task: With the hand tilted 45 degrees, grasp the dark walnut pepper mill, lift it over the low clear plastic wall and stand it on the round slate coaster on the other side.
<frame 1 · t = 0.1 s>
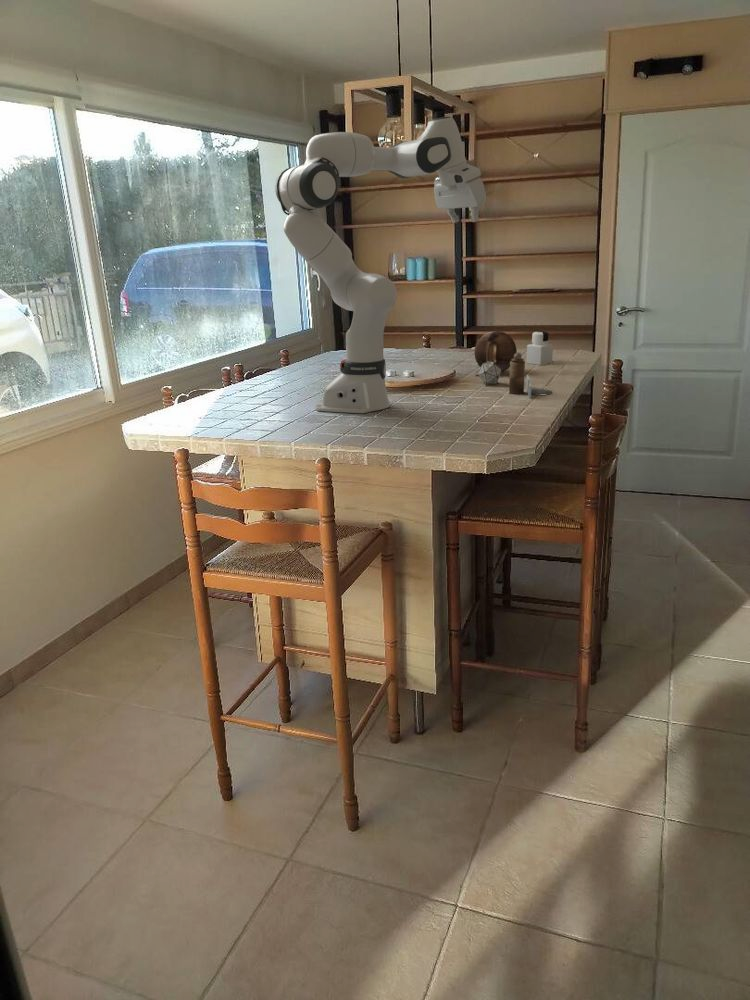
hand: (465, 221, 231), 52 cm above the counter, tool tilted 20°, fingers open, 8 cm apart
game die: (489, 385, 257), on the counter
wooden sphere: (494, 373, 277), on the counter
pepper mill: (516, 392, 243), on the counter
slate coaster: (540, 392, 242), on the counter
clear wall: (528, 392, 242), on the counter
medicine bottle: (539, 363, 293), on the counter
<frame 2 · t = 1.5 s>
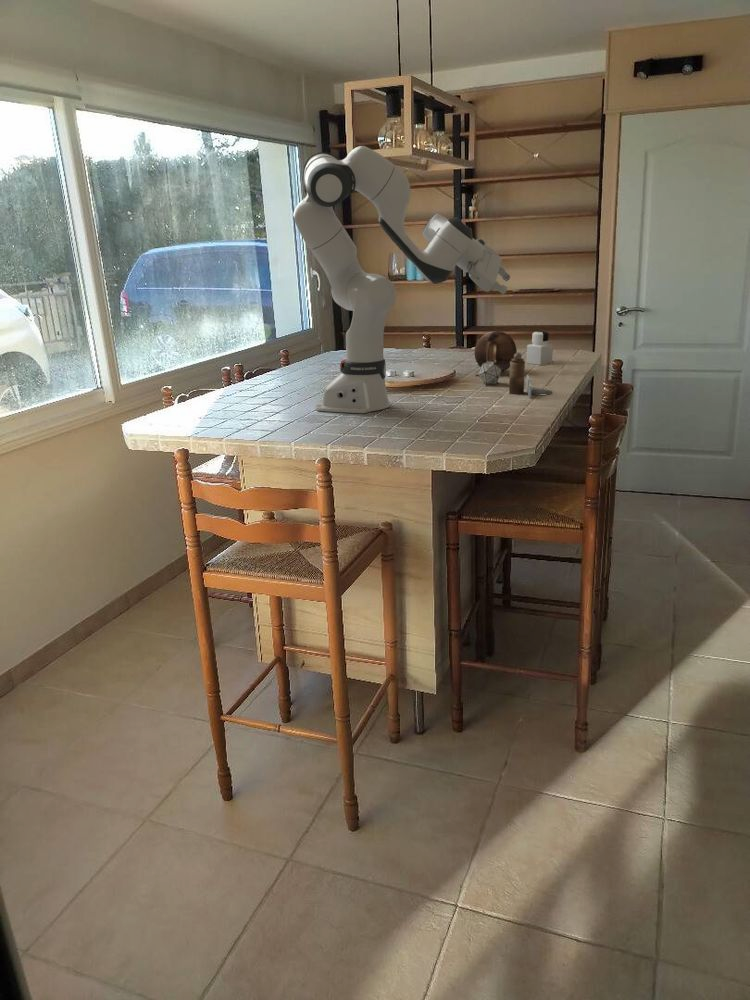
hand: (507, 285, 227), 34 cm above the counter, tool tilted 50°, fingers open, 8 cm apart
nothing on the counter moved.
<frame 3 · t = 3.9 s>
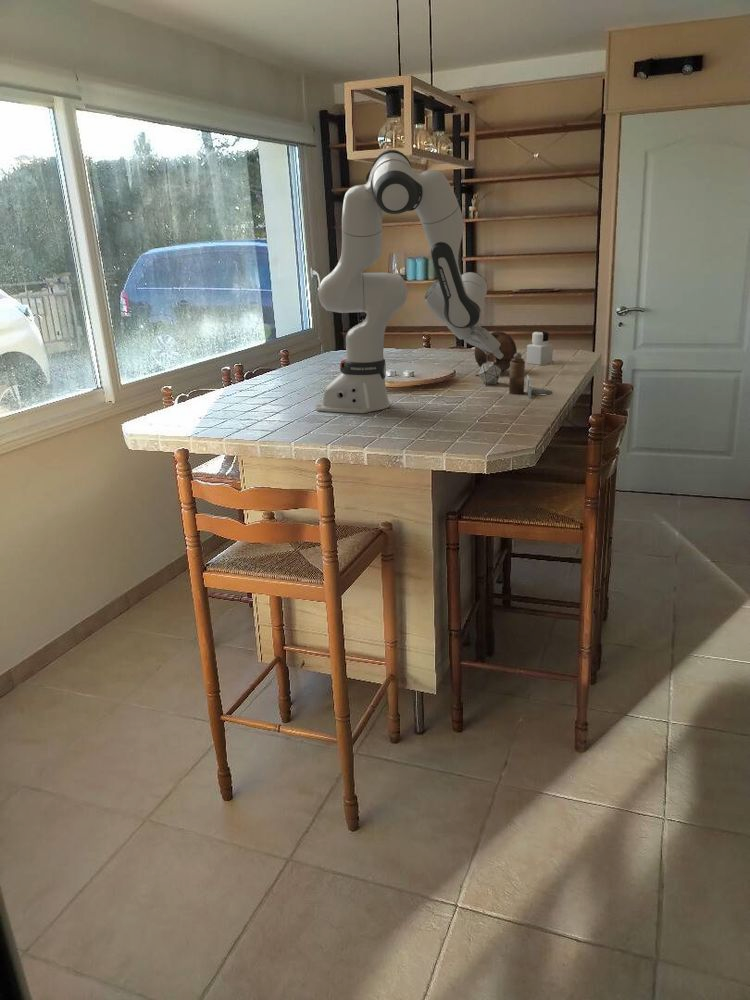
hand: (495, 355, 235), 13 cm above the counter, tool tilted 45°, fingers open, 8 cm apart
nothing on the counter moved.
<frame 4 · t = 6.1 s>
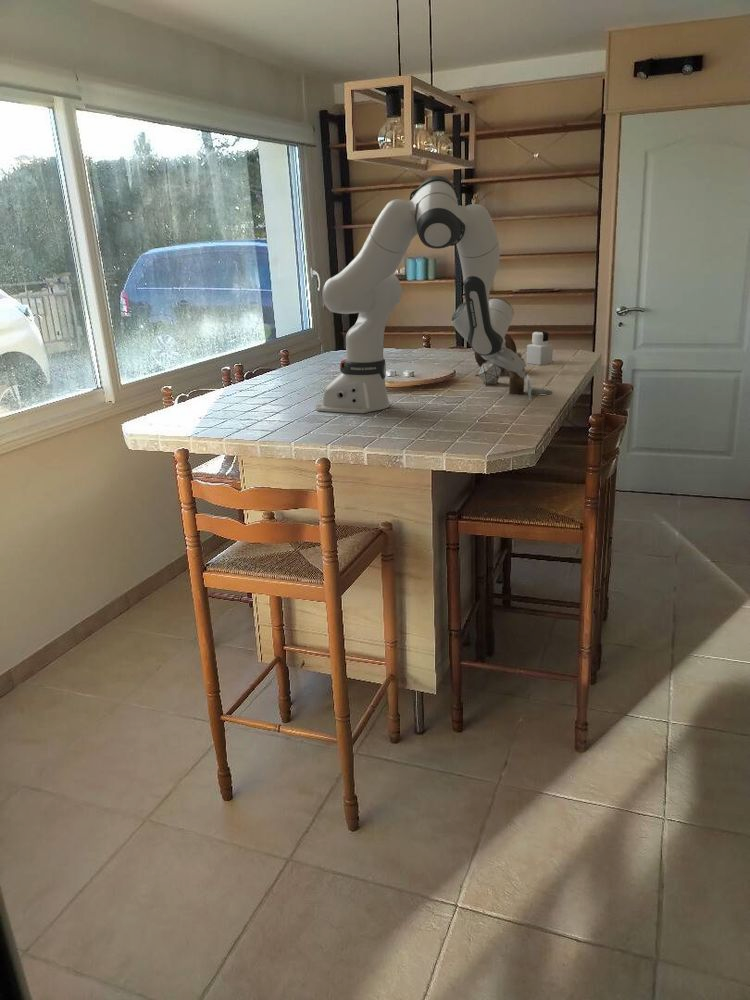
hand: (518, 374, 241), 6 cm above the counter, tool tilted 45°, fingers closed on pepper mill, 5 cm apart
pepper mill: (516, 392, 243), on the counter, touching gripper
everything else where it was.
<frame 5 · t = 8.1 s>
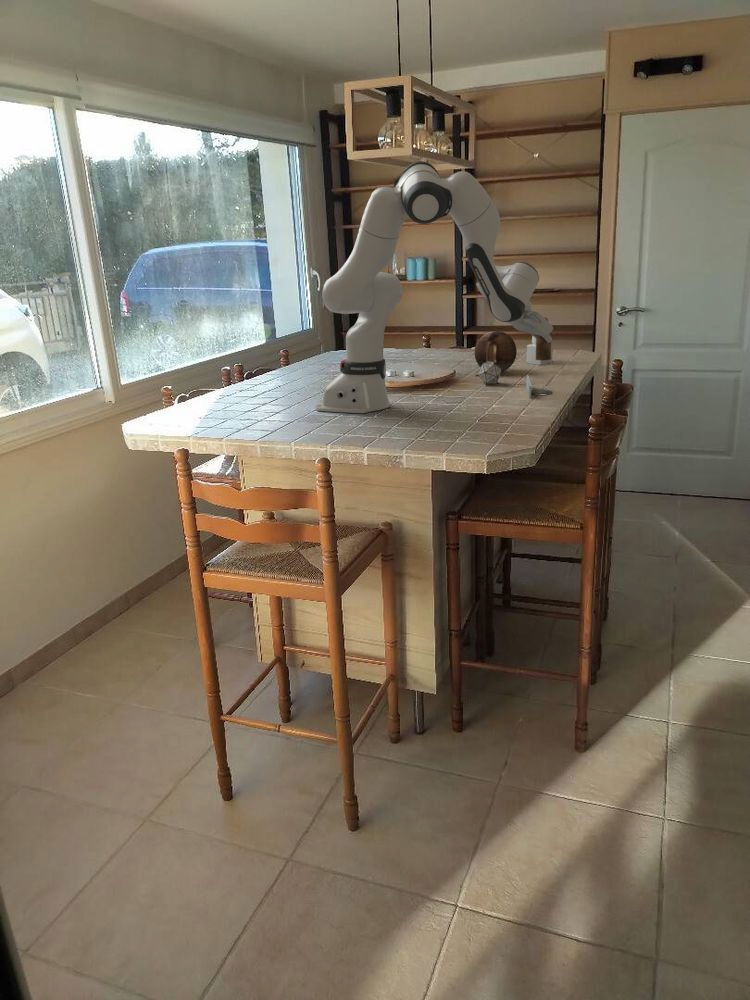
hand: (545, 339, 235), 17 cm above the counter, tool tilted 45°, fingers closed on pepper mill, 5 cm apart
pepper mill: (543, 359, 237), point 11 cm above the counter, touching gripper
everything else where it was.
when the fingers open (7 cm above the counter, at t = 10.3 s): pepper mill stays where it is, resting on slate coaster.
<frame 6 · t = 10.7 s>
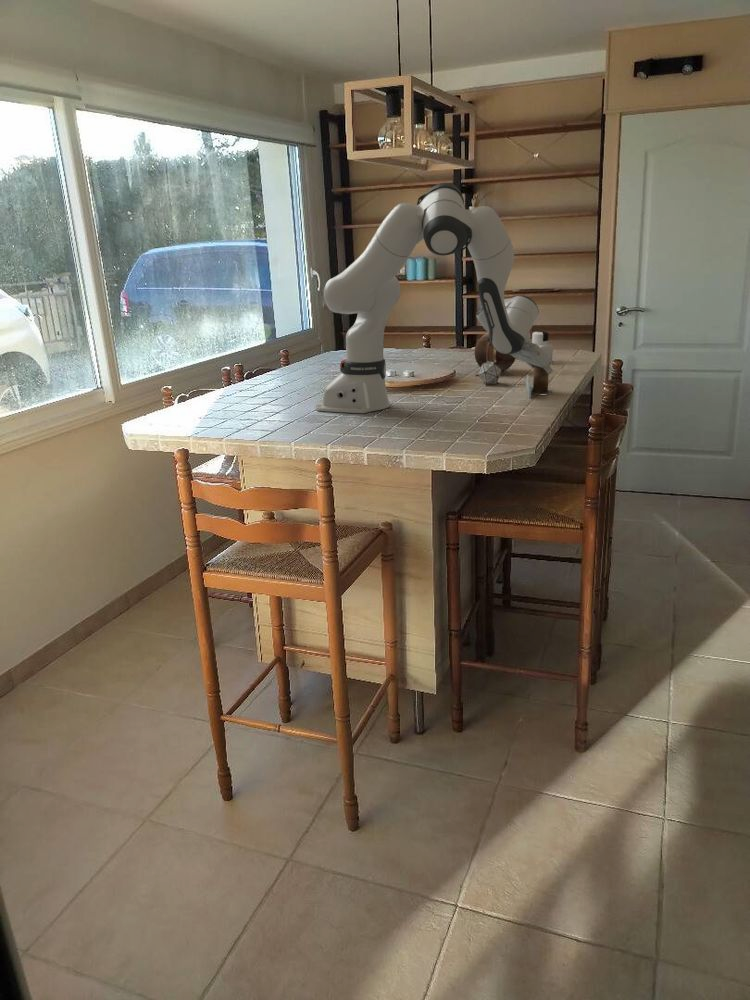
hand: (543, 369, 240), 7 cm above the counter, tool tilted 45°, fingers open, 8 cm apart
pepper mill: (540, 391, 242), resting on slate coaster
everything else where it was.
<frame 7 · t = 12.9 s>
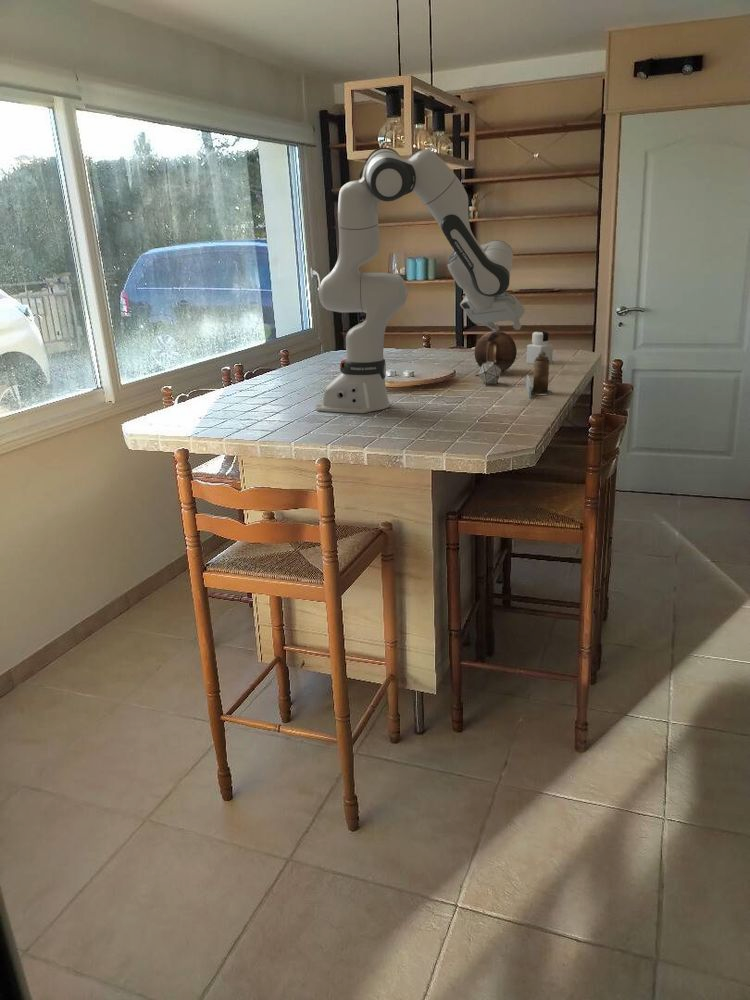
hand: (507, 329, 233), 21 cm above the counter, tool tilted 40°, fingers open, 8 cm apart
nothing on the counter moved.
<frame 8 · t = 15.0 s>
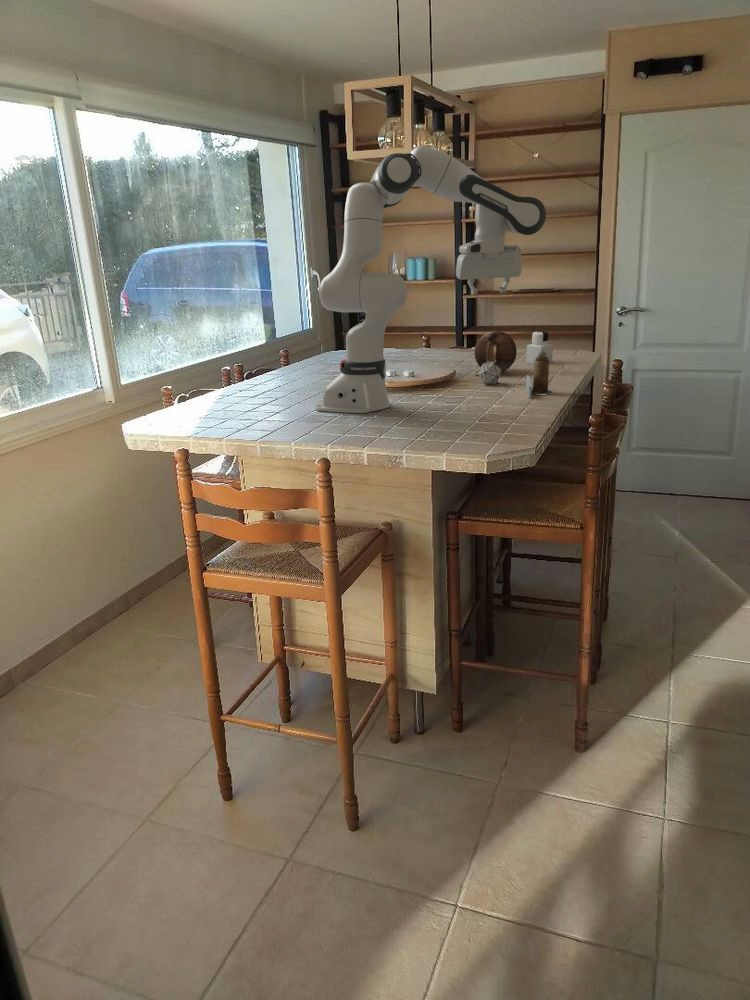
hand: (488, 293, 232), 31 cm above the counter, tool pointing down, fingers open, 8 cm apart
nothing on the counter moved.
at the end: pepper mill 0.0 cm from the slate coaster (horizontally); pepper mill tilted 0°; pepper mill resting on slate coaster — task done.
